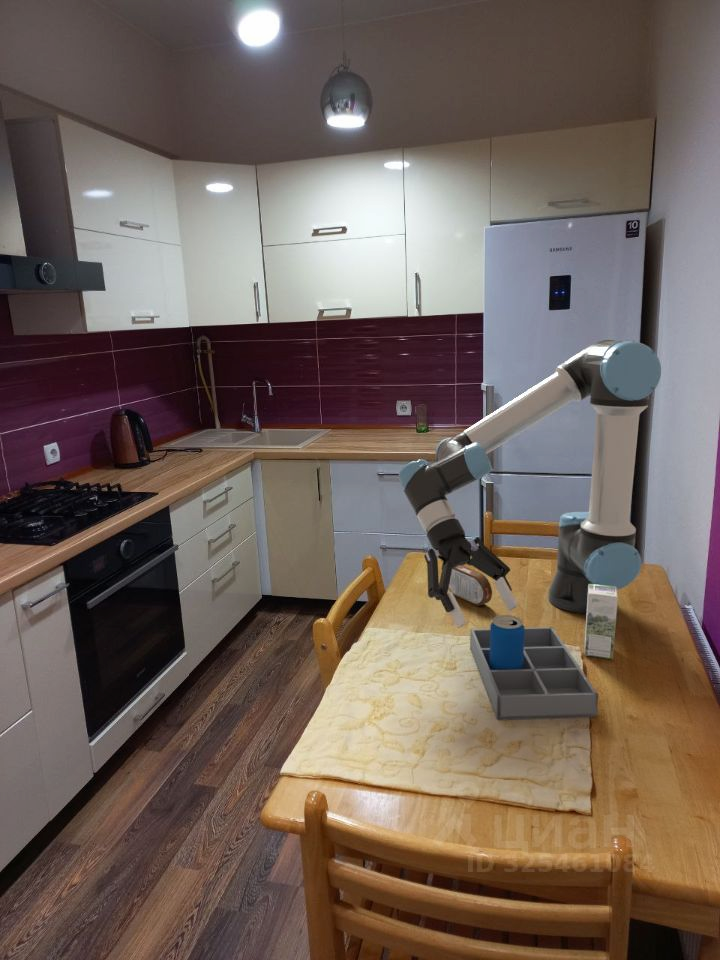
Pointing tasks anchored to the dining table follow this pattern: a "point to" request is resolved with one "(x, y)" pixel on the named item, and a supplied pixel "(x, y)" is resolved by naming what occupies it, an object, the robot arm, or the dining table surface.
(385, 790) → the dining table surface
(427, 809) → the dining table surface
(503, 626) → the beverage can
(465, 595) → the tin
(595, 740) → the dining table surface
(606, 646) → the syrup box
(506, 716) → the can crate
